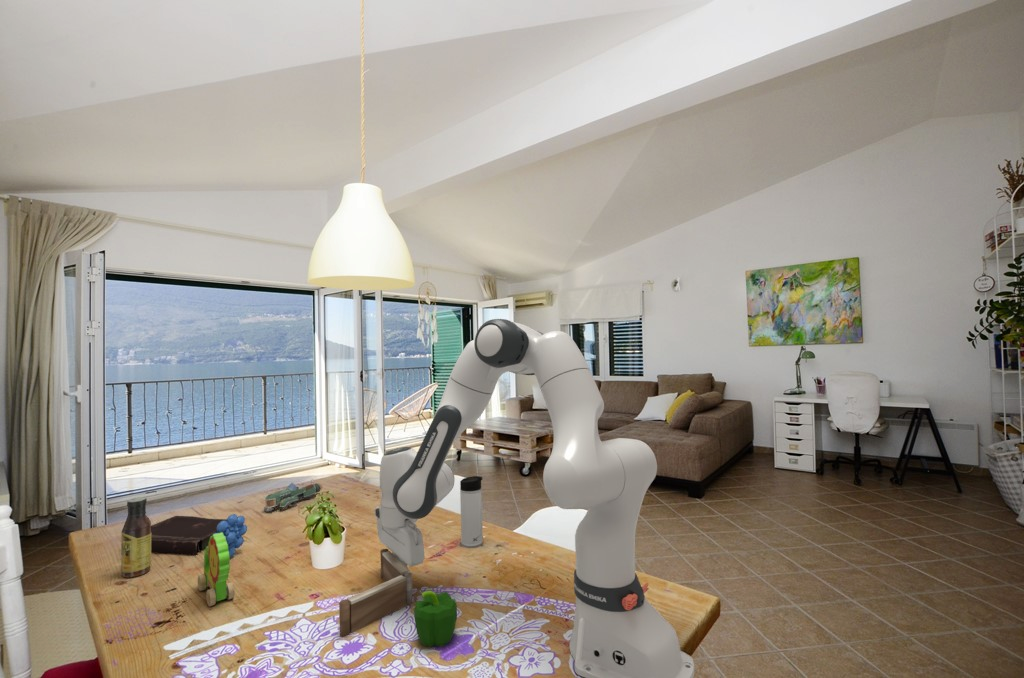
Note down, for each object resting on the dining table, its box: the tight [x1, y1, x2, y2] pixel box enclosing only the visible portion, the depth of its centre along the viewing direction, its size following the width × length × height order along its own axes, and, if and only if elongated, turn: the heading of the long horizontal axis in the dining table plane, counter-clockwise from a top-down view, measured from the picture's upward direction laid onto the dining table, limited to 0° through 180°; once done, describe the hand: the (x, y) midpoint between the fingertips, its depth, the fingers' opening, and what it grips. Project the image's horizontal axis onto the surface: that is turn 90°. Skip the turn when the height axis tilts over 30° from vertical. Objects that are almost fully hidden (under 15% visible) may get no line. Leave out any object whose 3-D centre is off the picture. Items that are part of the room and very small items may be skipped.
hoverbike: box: [263, 479, 323, 514], centre depth 181 cm, size 10×25×8 cm, turn 153°
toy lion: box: [197, 532, 235, 607], centre depth 112 cm, size 16×5×15 cm, turn 44°
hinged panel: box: [379, 548, 411, 582], centre depth 113 cm, size 2×15×7 cm, turn 35°
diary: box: [151, 515, 227, 557], centre depth 146 cm, size 19×25×5 cm
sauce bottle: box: [120, 496, 152, 579], centre depth 125 cm, size 7×6×20 cm
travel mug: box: [459, 475, 484, 549], centre depth 137 cm, size 6×7×20 cm
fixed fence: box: [338, 572, 413, 638], centre depth 100 cm, size 2×17×7 cm, turn 137°
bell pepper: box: [413, 590, 458, 648], centre depth 92 cm, size 8×8×10 cm
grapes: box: [214, 513, 248, 559], centre depth 133 cm, size 12×7×12 cm, turn 161°
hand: (401, 571), depth 114 cm, fingers closed
